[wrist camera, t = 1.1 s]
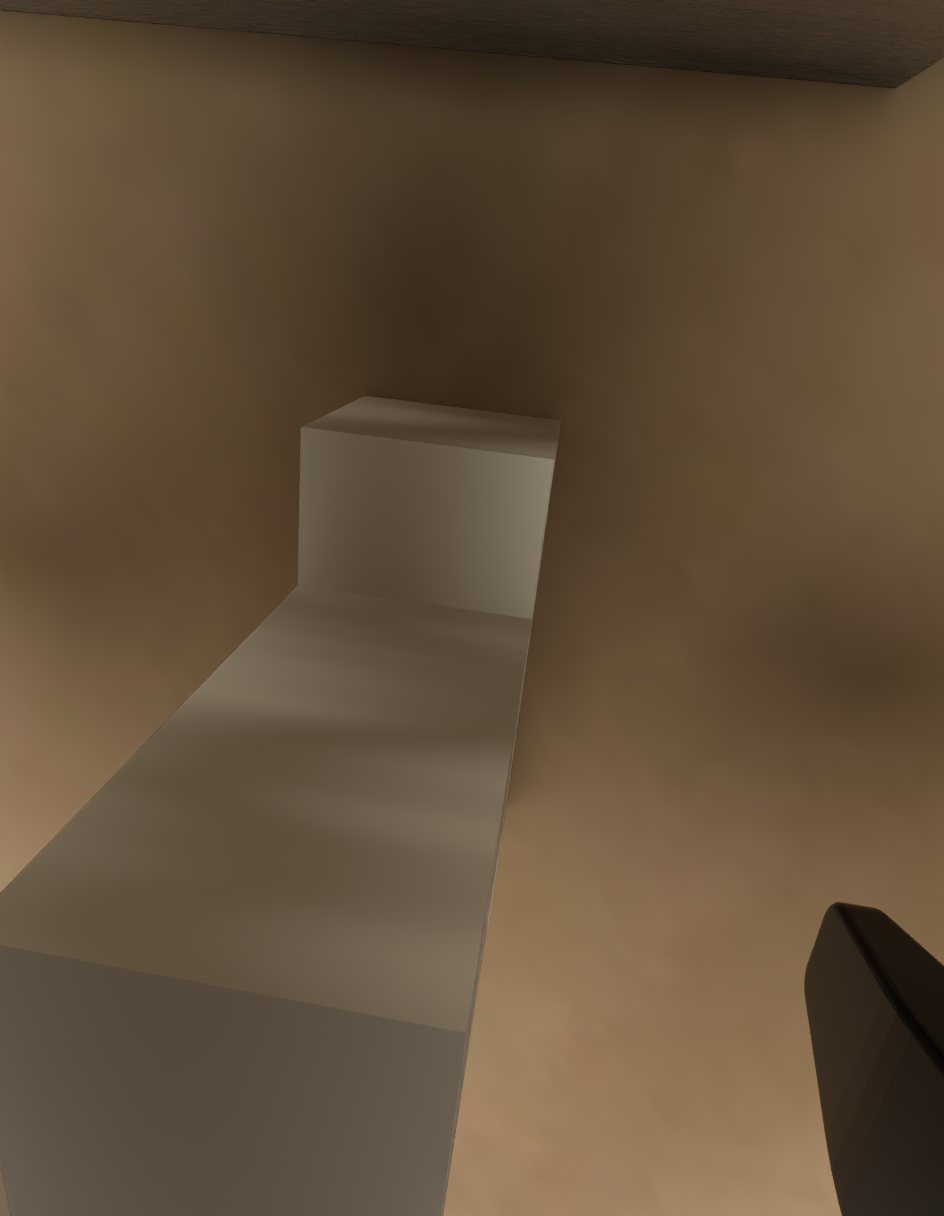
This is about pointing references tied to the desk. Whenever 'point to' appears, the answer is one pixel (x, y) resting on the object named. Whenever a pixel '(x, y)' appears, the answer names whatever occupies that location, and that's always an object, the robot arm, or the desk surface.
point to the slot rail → (594, 30)
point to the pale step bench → (293, 863)
